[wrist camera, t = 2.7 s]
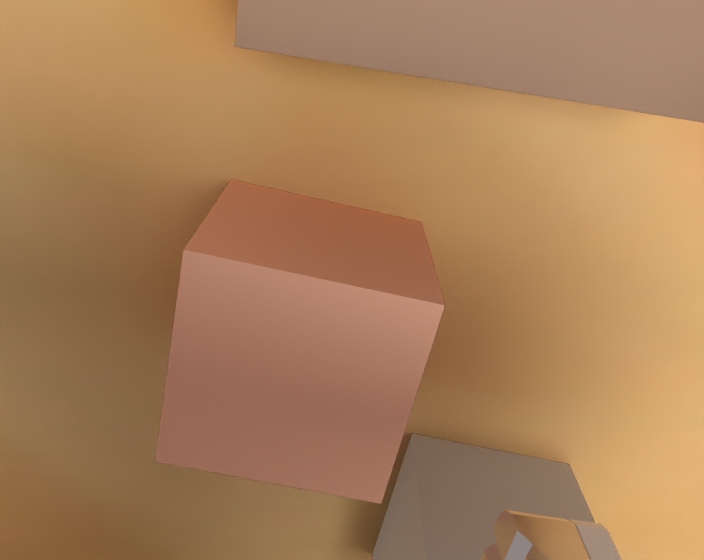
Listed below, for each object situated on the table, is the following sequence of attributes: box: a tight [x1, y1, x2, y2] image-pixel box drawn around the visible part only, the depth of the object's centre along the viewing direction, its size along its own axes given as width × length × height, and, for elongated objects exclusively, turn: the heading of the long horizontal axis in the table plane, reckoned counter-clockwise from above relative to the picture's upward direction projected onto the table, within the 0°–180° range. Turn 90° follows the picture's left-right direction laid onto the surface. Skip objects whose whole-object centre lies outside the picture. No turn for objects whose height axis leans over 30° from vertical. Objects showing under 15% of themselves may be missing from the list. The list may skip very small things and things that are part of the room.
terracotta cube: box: [155, 180, 445, 504], centre depth 15 cm, size 5×5×5 cm
